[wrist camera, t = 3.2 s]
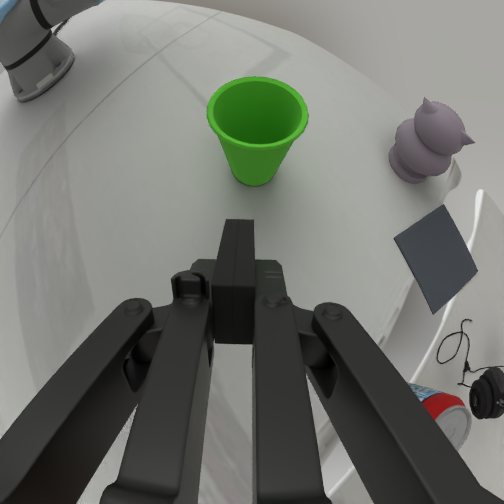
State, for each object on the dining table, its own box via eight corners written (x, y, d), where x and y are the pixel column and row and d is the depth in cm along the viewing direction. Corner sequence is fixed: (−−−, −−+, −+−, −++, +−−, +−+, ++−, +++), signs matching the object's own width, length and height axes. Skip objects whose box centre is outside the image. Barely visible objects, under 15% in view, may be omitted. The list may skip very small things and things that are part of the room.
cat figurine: (437, 165, 35) (482, 122, 24) (423, 200, 34) (476, 159, 22) (393, 130, 36) (429, 78, 25) (374, 162, 35) (415, 107, 23)
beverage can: (415, 375, 28) (481, 390, 17) (410, 425, 27) (468, 455, 15) (367, 383, 28) (426, 408, 16) (362, 435, 27) (412, 477, 15)
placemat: (393, 238, 32) (394, 237, 32) (443, 204, 34) (443, 203, 34) (432, 314, 30) (433, 314, 30) (477, 271, 32) (478, 271, 31)
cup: (305, 164, 34) (327, 106, 23) (259, 217, 32) (267, 167, 22) (248, 127, 35) (250, 64, 25) (200, 173, 33) (185, 114, 23)
